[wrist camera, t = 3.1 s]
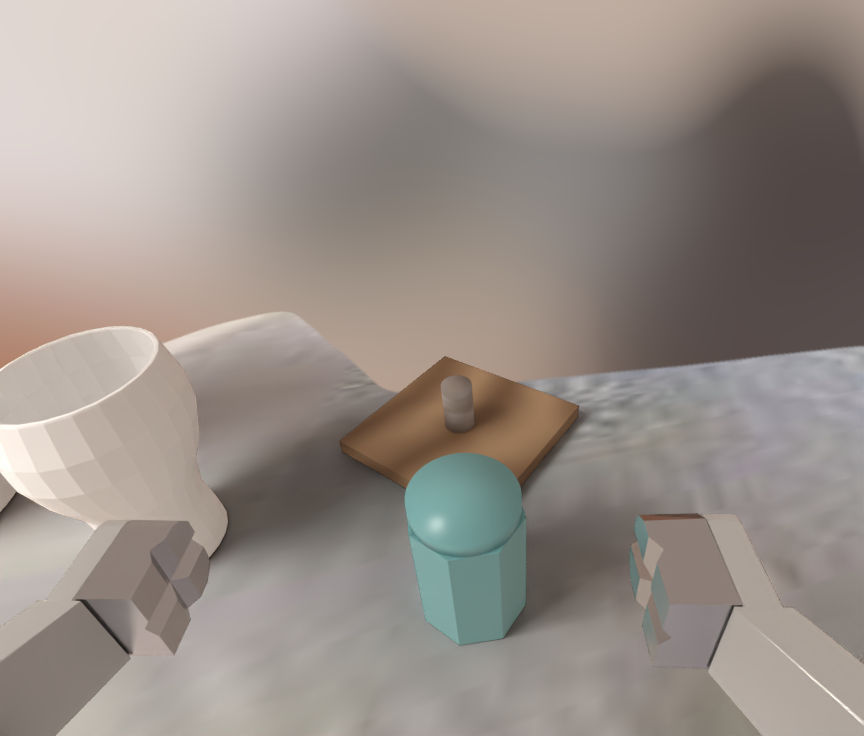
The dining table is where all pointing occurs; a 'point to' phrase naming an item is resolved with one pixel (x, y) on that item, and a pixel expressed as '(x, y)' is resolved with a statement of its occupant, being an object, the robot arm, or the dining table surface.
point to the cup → (107, 432)
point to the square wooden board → (460, 423)
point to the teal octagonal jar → (468, 545)
